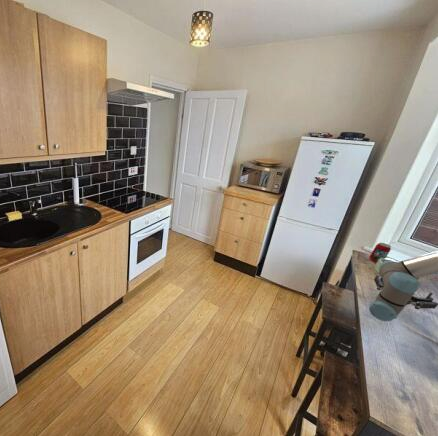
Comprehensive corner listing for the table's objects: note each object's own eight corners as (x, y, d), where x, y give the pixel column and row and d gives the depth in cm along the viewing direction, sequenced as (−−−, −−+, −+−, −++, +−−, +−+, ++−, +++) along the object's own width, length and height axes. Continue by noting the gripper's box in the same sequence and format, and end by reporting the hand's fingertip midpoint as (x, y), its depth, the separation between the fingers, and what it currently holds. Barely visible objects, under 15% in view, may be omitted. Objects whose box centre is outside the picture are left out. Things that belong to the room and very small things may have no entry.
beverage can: (371, 262, 146) (381, 246, 141) (366, 256, 152) (375, 241, 147) (384, 264, 144) (394, 248, 139) (378, 259, 150) (388, 243, 145)
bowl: (410, 278, 133) (417, 269, 130) (403, 285, 126) (409, 276, 123) (378, 264, 144) (383, 255, 141) (369, 270, 137) (375, 261, 134)
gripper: (354, 288, 108) (371, 276, 118) (431, 329, 89) (443, 310, 99) (361, 275, 105) (378, 264, 115) (443, 315, 86) (454, 297, 96)
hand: (408, 285), depth 107 cm, fingers open, 13 cm apart
